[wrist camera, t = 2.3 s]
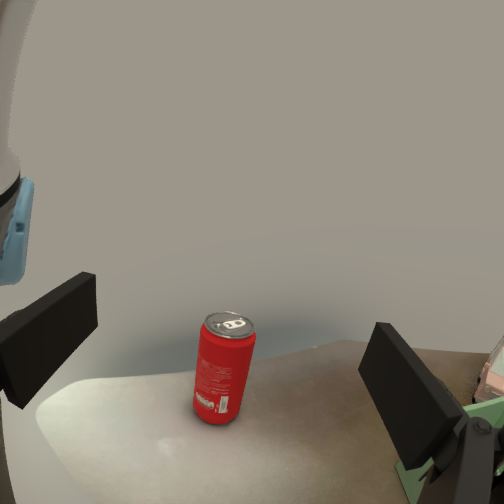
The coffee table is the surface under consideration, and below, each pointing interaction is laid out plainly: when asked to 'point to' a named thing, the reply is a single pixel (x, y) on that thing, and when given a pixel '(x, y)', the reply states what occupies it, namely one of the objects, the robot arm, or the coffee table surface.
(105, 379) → the coffee table surface
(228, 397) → the beverage can
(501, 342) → the toy car
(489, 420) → the open square storage bin
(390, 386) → the robot arm
